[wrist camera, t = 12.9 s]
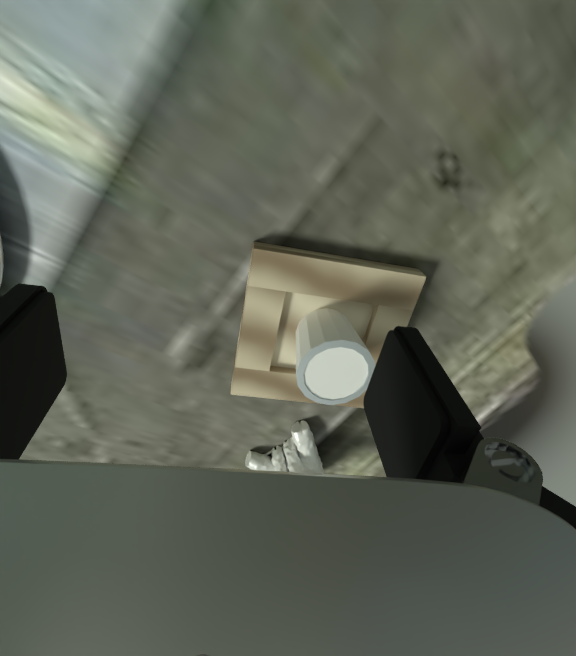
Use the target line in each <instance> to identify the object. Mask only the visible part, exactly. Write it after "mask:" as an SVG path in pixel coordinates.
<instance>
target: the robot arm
mask: <svg viewBox="0 0 576 656" xmlns="http://www.w3.org/2000/svg"><path fill="white" fill-rule="evenodd" d="M66 377H67V371H66V365H65V359H64V352H63V346H62V340H61V334H60V328H59V322H58V316H57V310H56V304H55V298H54V295H53V294H52V293H50V292H47V290H46V288H45V287H44V286H36V285H27V284H17V285H15V286H14V287H13V288H12V289H11V290H10V291H9V292H8V293H6V294H5V295H4V296H3V297H2V298H1V299H0V656H576V507H575V506H574V505H572V504H570V503H569V502H567V501H565V500H564V499H562V498H561V497H559V496H557V495H556V494H554V493H553V492H551V491H549V490H547V489H546V488H544V487H543V486H542V482H543V476H542V471H541V469H540V467H539V465H538V464H537V463H536V461H535V460H534V459H533V458H532V457H531V456H530V455H529V454H528V453H527V452H526V451H524V450H523V449H521V448H520V447H518V446H517V445H515V444H513V443H511V442H509V441H506V440H503V439H500V438H485V439H484V438H483V437H482V435H481V433H480V432H479V430H480V429H481V427H480V425H479V423H478V422H477V420H476V419H475V417H474V416H473V414H472V413H471V411H470V410H469V408H468V406H467V405H466V403H465V402H464V400H463V399H462V397H461V396H460V394H459V393H458V391H457V389H456V388H455V386H454V385H453V383H452V382H451V380H450V379H449V377H448V376H447V374H446V372H445V371H444V369H443V368H442V366H441V365H440V363H439V362H438V360H437V359H436V357H435V355H434V354H433V352H432V351H431V349H430V348H429V346H428V345H427V343H426V342H425V340H424V339H423V337H422V335H421V334H420V332H419V331H418V330H417V329H416V328H412V327H403V326H397V327H395V328H394V330H390V331H389V332H388V333H387V336H386V338H385V341H384V344H383V347H382V349H381V352H380V355H379V357H378V360H377V363H376V366H375V368H374V371H373V374H372V377H371V379H370V382H369V385H368V387H367V390H366V393H365V396H364V401H363V405H364V410H365V413H366V416H367V419H368V422H369V425H370V428H371V431H372V434H373V437H374V440H375V443H376V446H377V449H378V452H379V455H380V458H381V461H382V464H383V467H384V470H385V473H386V476H387V477H375V476H357V475H339V474H320V473H302V472H283V471H263V470H243V469H223V468H202V467H181V466H160V465H137V464H114V463H91V462H68V461H44V460H19V458H20V456H21V455H22V453H23V451H24V450H25V448H26V447H27V445H28V443H29V442H30V440H31V438H32V437H33V435H34V434H35V432H36V430H37V429H38V427H39V425H40V424H41V422H42V420H43V419H44V417H45V416H46V414H47V412H48V411H49V409H50V407H51V406H52V404H53V403H54V401H55V399H56V398H57V396H58V394H59V393H60V391H61V390H62V388H63V386H64V384H65V382H66Z"/></svg>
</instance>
